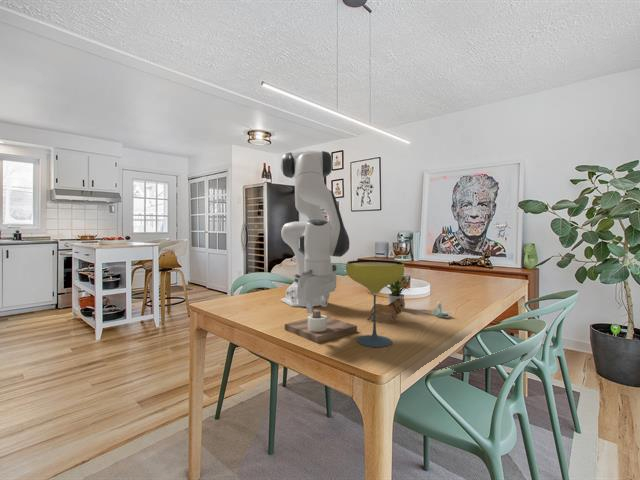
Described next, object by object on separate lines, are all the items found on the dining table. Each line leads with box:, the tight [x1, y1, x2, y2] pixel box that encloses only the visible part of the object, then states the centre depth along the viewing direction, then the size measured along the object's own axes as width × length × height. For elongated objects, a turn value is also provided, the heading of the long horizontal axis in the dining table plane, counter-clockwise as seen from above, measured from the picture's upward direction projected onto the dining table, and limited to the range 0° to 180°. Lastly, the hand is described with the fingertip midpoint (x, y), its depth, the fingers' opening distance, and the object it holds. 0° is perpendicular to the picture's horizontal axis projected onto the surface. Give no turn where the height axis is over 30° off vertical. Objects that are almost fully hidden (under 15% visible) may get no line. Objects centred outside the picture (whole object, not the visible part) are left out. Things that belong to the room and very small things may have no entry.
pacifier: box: [433, 301, 451, 319], centre depth 133 cm, size 7×6×6 cm
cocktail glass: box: [345, 259, 405, 348], centre depth 103 cm, size 18×18×25 cm
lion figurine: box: [366, 298, 406, 324], centre depth 126 cm, size 15×5×9 cm, turn 94°
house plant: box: [385, 276, 412, 305], centre depth 144 cm, size 14×14×16 cm
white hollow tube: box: [307, 314, 328, 332], centre depth 110 cm, size 6×6×4 cm
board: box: [284, 310, 358, 344], centre depth 115 cm, size 18×18×8 cm
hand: (317, 309), depth 110 cm, fingers open, 8 cm apart
